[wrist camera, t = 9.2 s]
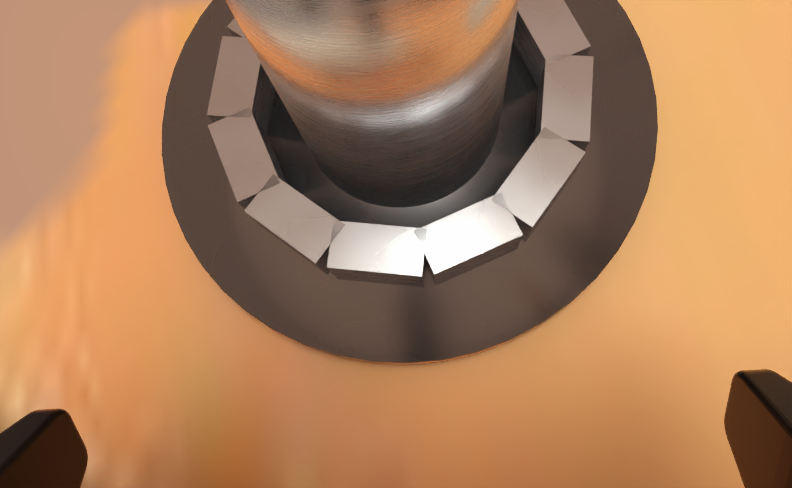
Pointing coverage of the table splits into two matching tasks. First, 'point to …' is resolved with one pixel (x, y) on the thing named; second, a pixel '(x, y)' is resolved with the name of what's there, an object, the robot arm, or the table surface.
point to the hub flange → (426, 224)
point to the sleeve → (388, 87)
